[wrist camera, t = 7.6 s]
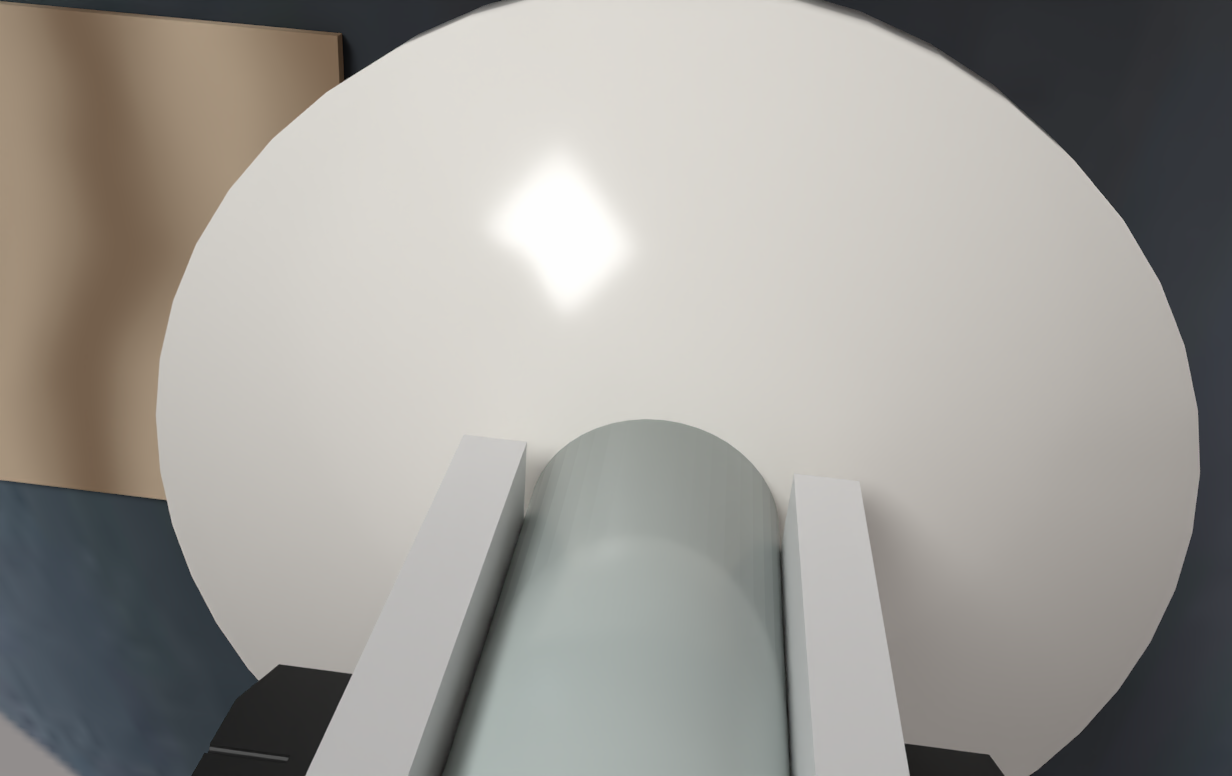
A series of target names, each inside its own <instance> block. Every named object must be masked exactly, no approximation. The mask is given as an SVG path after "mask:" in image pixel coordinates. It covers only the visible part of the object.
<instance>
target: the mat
mask: <svg viewBox="0 0 1232 776" xmlns="http://www.w3.org/2000/svg"><path fill="white" fill-rule="evenodd" d="M343 81H344V65H343V43H342V33H332V32H321V31H311V30H300V29H290V28H279V27H269V26H258V25H247V24H237V23H226V22H216V21H205V20H195V19H184V18H173V17H163V16H152V15H142V14H131V13H121V12H110V11H99V10H89V9H78V8H68V7H57V6H47V5H36V4H25V3H15V2H4V1H0V480H6V481H14V482H22V483H30V484H38V485H47V486H55V487H63V488H71V489H80V490H88V491H96V492H104V493H112V494H121V495H129V496H137V497H145V498H154V499H162V500H167V499H166V494H165V490H164V486H163V481H162V477H161V472H160V462H159V450H158V437H157V425H156V405H157V391H158V377H159V363H160V355H161V351H162V347H163V342H164V338H165V334H166V329H167V325H168V321H169V316H170V312H171V308H172V303H173V300H174V297H175V295H176V292H177V290H178V287H179V285H180V283H181V280H182V278H183V275H184V273H185V270H186V268H187V265H188V263H189V260H190V258H191V255H192V253H193V250H194V248H195V246H196V243H197V242H198V240H199V239H200V237H201V235H202V234H203V232H204V230H205V229H206V227H207V225H208V224H209V222H210V220H211V219H212V217H213V215H214V214H215V212H216V211H217V209H218V207H219V206H220V204H221V202H222V201H223V199H224V197H225V196H226V194H227V192H228V191H229V189H230V188H231V187H232V186H233V185H234V183H235V182H236V181H237V180H238V179H239V177H240V176H241V175H242V174H243V173H244V172H245V170H246V169H247V168H248V167H249V166H250V165H251V163H252V162H253V161H254V160H255V159H256V157H257V156H258V155H259V154H260V153H261V152H262V150H263V149H264V148H265V147H266V146H267V145H268V143H269V142H270V141H271V140H272V139H273V138H274V137H275V136H276V135H277V134H278V133H280V132H281V131H282V130H283V129H284V128H285V127H287V126H288V125H289V124H290V123H291V122H292V121H294V120H295V119H296V118H297V117H298V116H299V115H301V114H302V113H303V112H304V111H305V110H306V109H308V108H309V107H310V106H311V105H312V104H313V103H315V102H316V101H317V100H318V99H319V98H320V97H322V96H323V95H324V94H325V93H326V92H328V91H329V90H331V89H332V88H334V87H336V86H337V85H339V84H340V83H342V82H343Z"/></svg>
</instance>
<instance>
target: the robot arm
mask: <svg viewBox="0 0 1232 776" xmlns="http://www.w3.org/2000/svg"><path fill="white" fill-rule="evenodd" d="M526 448H527V442H522V441H513V440H505V439H496V438H488V437H479V436H471V435H463V437H462V439H461V441H460V444H459V446H458V448H457V450H456V452H455V454H454V457H453V459H452V461H451V463H450V465H449V467H448V469H447V472H446V474H445V476H444V478H443V480H442V482H441V485H440V487H439V489H438V491H437V493H436V495H435V497H434V500H433V502H432V504H431V506H430V508H429V510H428V513H427V515H426V517H425V519H424V521H423V523H422V525H421V528H420V530H419V532H418V534H417V536H416V538H415V541H414V543H413V545H412V547H411V549H410V551H409V553H408V556H407V558H406V560H405V562H404V564H403V566H402V569H401V571H400V573H399V575H398V577H397V579H396V582H395V584H394V586H393V588H392V590H391V592H390V594H389V597H388V599H387V601H386V603H385V605H384V607H383V610H382V612H381V614H380V616H379V618H378V620H377V622H376V625H375V627H374V629H373V631H372V633H371V635H370V638H369V640H368V642H367V644H366V646H365V648H364V650H363V653H362V655H361V657H360V659H359V661H358V663H357V666H356V668H355V670H354V672H353V674H349V673H342V672H334V671H327V670H319V669H312V668H304V667H296V666H289V665H281V664H279V665H277V666H276V667H275V668H274V669H273V670H271V671H270V672H269V673H268V674H266V675H265V676H264V677H263V678H262V679H260V680H259V681H258V682H257V683H256V684H254V685H253V686H252V687H251V688H249V689H248V690H247V691H246V692H245V693H243V694H242V695H241V696H240V697H238V698H237V699H236V700H235V702H234V704H233V705H232V707H231V709H230V711H229V712H228V714H227V716H226V717H225V719H224V721H223V723H222V724H221V726H220V728H219V729H218V731H217V733H216V735H215V736H214V738H213V740H212V741H211V743H210V748H209V752H208V753H204V755H203V757H202V759H201V760H200V762H199V764H198V765H197V767H196V769H195V771H194V772H193V774H192V776H442V773H443V770H444V767H445V764H446V761H447V757H448V754H449V751H450V748H451V745H452V742H453V739H454V736H455V732H456V729H457V726H458V723H459V720H460V717H461V714H462V711H463V707H464V704H465V701H466V698H467V695H468V692H469V689H470V686H471V682H472V679H473V676H474V673H475V670H476V667H477V664H478V661H479V658H480V654H481V651H482V648H483V645H484V642H485V639H486V636H487V633H488V629H489V626H490V623H491V620H492V617H493V614H494V611H495V608H496V604H497V601H498V598H499V595H500V592H501V589H502V586H503V583H504V579H505V576H506V573H507V570H508V567H509V564H510V561H511V558H512V554H513V551H514V548H515V545H516V542H517V539H518V536H519V533H520V530H521V526H522V523H523V520H524V500H525V474H526ZM780 559H781V581H782V603H783V625H784V647H785V669H786V691H787V713H788V735H789V757H790V776H1005V775H1004V774H1003V773H1002V771H1001V770H1000V769H999V767H998V766H997V765H996V763H995V762H994V761H993V759H992V758H991V757H990V755H989V754H981V753H974V752H966V751H958V750H951V749H943V748H936V747H928V746H921V745H913V744H905V743H904V739H903V733H902V727H901V721H900V716H899V710H898V704H897V698H896V692H895V686H894V681H893V675H892V669H891V663H890V657H889V651H888V645H887V640H886V634H885V628H884V622H883V616H882V610H881V604H880V599H879V593H878V587H877V581H876V575H875V569H874V564H873V558H872V552H871V546H870V540H869V534H868V528H867V523H866V517H865V511H864V505H863V499H862V493H861V488H860V482H859V481H854V480H846V479H837V478H829V477H820V476H812V475H803V474H795V473H794V476H793V481H792V487H791V493H790V499H789V504H788V510H787V516H786V521H785V527H784V533H783V538H782V544H781V550H780Z"/></svg>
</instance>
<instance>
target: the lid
mask: <svg viewBox="0 0 1232 776" xmlns="http://www.w3.org/2000/svg"><path fill="white" fill-rule="evenodd" d="M156 425H157V437H158V450H159V462H160V472H161V477H162V481H163V486H164V490H165V494H166V499H167V503H168V508H169V512H170V516H171V521H172V525H173V528H174V531H175V533H176V536H177V538H178V541H179V544H180V546H181V549H182V552H183V554H184V557H185V560H186V562H187V565H188V568H189V570H190V573H191V576H192V578H193V580H194V581H195V583H196V585H197V587H198V589H199V591H200V593H201V595H202V597H203V598H204V600H205V602H206V604H207V606H208V608H209V610H210V612H211V614H212V615H213V617H214V619H215V621H216V623H217V625H218V626H219V628H220V629H221V630H222V632H223V633H224V635H225V636H226V638H227V639H228V640H229V642H230V643H231V645H232V646H233V648H234V649H235V651H236V652H237V653H238V655H239V656H240V658H241V659H242V661H243V662H244V663H245V665H246V666H247V668H248V669H249V670H250V671H251V672H252V674H253V675H254V676H255V677H256V678H257V679H258V680H260V679H262V678H263V677H264V676H265V675H266V674H268V673H269V672H270V671H271V670H273V669H274V668H275V667H276V666H277V665H279V664H281V665H289V666H296V667H304V668H312V669H319V670H327V671H334V672H342V673H349V674H353V672H354V670H355V668H356V666H357V663H358V661H359V659H360V657H361V655H362V653H363V650H364V648H365V646H366V644H367V642H368V640H369V638H370V635H371V633H372V631H373V629H374V627H375V625H376V622H377V620H378V618H379V616H380V614H381V612H382V610H383V607H384V605H385V603H386V601H387V599H388V597H389V594H390V592H391V590H392V588H393V586H394V584H395V582H396V579H397V577H398V575H399V573H400V571H401V569H402V566H403V564H404V562H405V560H406V558H407V556H408V553H409V551H410V549H411V547H412V545H413V543H414V541H415V538H416V536H417V534H418V532H419V530H420V528H421V525H422V523H423V521H424V519H425V517H426V515H427V513H428V510H429V508H430V506H431V504H432V502H433V500H434V497H435V495H436V493H437V491H438V489H439V487H440V485H441V482H442V480H443V478H444V476H445V474H446V472H447V469H448V467H449V465H450V463H451V461H452V459H453V457H454V454H455V452H456V450H457V448H458V446H459V444H460V441H461V439H462V437H463V435H471V436H479V437H488V438H496V439H505V440H513V441H522V442H527V448H526V474H525V500H524V520H523V523H522V526H521V530H520V533H519V536H518V539H517V542H516V545H515V548H514V551H513V554H512V558H511V561H510V564H509V567H508V570H507V573H506V576H505V579H504V583H503V586H502V589H501V592H500V595H499V598H498V601H497V604H496V608H495V611H494V614H493V617H492V620H491V623H490V626H489V629H488V633H487V636H486V639H485V642H484V645H483V648H482V651H481V654H480V658H479V661H478V664H477V667H476V670H475V673H474V676H473V679H472V682H471V686H470V689H469V692H468V695H467V698H466V701H465V704H464V707H463V711H462V714H461V717H460V720H459V723H458V726H457V729H456V732H455V736H454V739H453V742H452V745H451V748H450V751H449V754H448V757H447V761H446V764H445V767H444V770H443V773H442V776H790V757H789V735H788V713H787V691H786V669H785V647H784V625H783V603H782V581H781V559H780V550H781V544H782V538H783V533H784V527H785V521H786V516H787V510H788V504H789V499H790V493H791V487H792V481H793V476H794V473H795V474H803V475H812V476H820V477H829V478H837V479H846V480H854V481H859V482H860V488H861V493H862V499H863V505H864V511H865V517H866V523H867V528H868V534H869V540H870V546H871V552H872V558H873V564H874V569H875V575H876V581H877V587H878V593H879V599H880V604H881V610H882V616H883V622H884V628H885V634H886V640H887V645H888V651H889V657H890V663H891V669H892V675H893V681H894V686H895V692H896V698H897V704H898V710H899V716H900V721H901V727H902V733H903V739H904V743H905V744H913V745H921V746H928V747H936V748H943V749H951V750H958V751H966V752H974V753H981V754H989V755H990V757H991V758H992V759H993V761H994V762H995V763H996V765H997V766H998V767H999V769H1000V770H1001V771H1002V773H1003V774H1004V775H1005V776H1029V775H1031V774H1032V773H1034V772H1035V771H1037V770H1038V769H1039V768H1040V767H1041V766H1043V765H1044V764H1045V763H1046V762H1047V761H1048V760H1050V759H1051V758H1052V757H1053V756H1054V755H1055V754H1056V753H1058V752H1059V751H1060V750H1061V749H1062V748H1063V747H1064V746H1066V745H1067V744H1068V743H1069V742H1070V741H1071V740H1073V739H1074V738H1075V737H1076V736H1077V735H1078V734H1079V733H1081V731H1082V730H1083V729H1084V728H1085V727H1086V726H1087V725H1088V724H1089V722H1090V721H1091V720H1092V719H1093V718H1094V717H1095V716H1096V715H1097V713H1098V712H1099V711H1100V710H1101V709H1102V708H1103V707H1104V706H1105V704H1106V703H1107V702H1108V701H1109V700H1110V699H1111V698H1112V697H1113V695H1114V694H1115V693H1116V692H1117V691H1118V690H1119V688H1120V687H1121V685H1122V684H1123V682H1124V681H1125V679H1126V678H1127V676H1128V675H1129V673H1130V672H1131V670H1132V669H1133V667H1134V666H1135V664H1136V663H1137V661H1138V660H1139V658H1140V657H1141V655H1142V654H1143V652H1144V651H1145V649H1146V648H1147V646H1148V645H1149V643H1150V642H1151V640H1152V638H1153V635H1154V633H1155V631H1156V629H1157V627H1158V625H1159V623H1160V621H1161V619H1162V617H1163V614H1164V612H1165V610H1166V608H1167V606H1168V604H1169V602H1170V600H1171V598H1172V596H1173V593H1174V591H1175V589H1176V585H1177V582H1178V579H1179V575H1180V572H1181V569H1182V565H1183V562H1184V559H1185V555H1186V552H1187V549H1188V545H1189V542H1190V539H1191V535H1192V530H1193V522H1194V515H1195V507H1196V500H1197V492H1198V484H1199V477H1200V459H1199V430H1198V409H1197V404H1196V399H1195V394H1194V389H1193V384H1192V379H1191V374H1190V370H1189V365H1188V360H1187V355H1186V350H1185V346H1184V343H1183V340H1182V338H1181V335H1180V333H1179V330H1178V327H1177V325H1176V322H1175V320H1174V317H1173V315H1172V312H1171V309H1170V307H1169V304H1168V302H1167V299H1166V296H1165V294H1164V291H1163V289H1162V286H1161V283H1160V281H1159V280H1158V278H1157V276H1156V275H1155V273H1154V271H1153V269H1152V268H1151V266H1150V264H1149V263H1148V261H1147V259H1146V258H1145V256H1144V254H1143V252H1142V251H1141V249H1140V247H1139V246H1138V244H1137V242H1136V240H1135V239H1134V237H1133V235H1132V234H1131V232H1130V230H1129V229H1128V227H1127V225H1126V223H1125V222H1124V220H1123V219H1122V218H1121V217H1120V215H1119V214H1118V213H1117V212H1116V211H1115V209H1114V208H1113V207H1112V206H1111V204H1110V203H1109V202H1108V201H1107V200H1106V198H1105V197H1104V196H1103V195H1102V194H1101V192H1100V191H1099V190H1098V189H1097V188H1096V186H1095V185H1094V184H1093V183H1092V181H1091V180H1090V179H1089V178H1088V177H1087V175H1086V174H1085V173H1084V172H1083V171H1082V169H1081V168H1080V167H1079V166H1078V164H1077V163H1076V162H1075V161H1074V160H1073V159H1072V158H1071V157H1070V156H1069V155H1068V154H1067V153H1066V152H1065V151H1064V150H1063V149H1062V148H1061V147H1060V146H1059V145H1058V144H1057V143H1056V141H1055V140H1054V139H1053V138H1052V137H1051V136H1050V135H1049V134H1048V133H1047V132H1046V131H1044V130H1043V129H1042V128H1041V127H1040V126H1039V125H1038V124H1037V123H1035V122H1034V121H1033V120H1032V119H1031V118H1030V117H1029V116H1028V115H1026V114H1025V113H1024V112H1023V111H1022V110H1021V109H1020V108H1019V107H1017V106H1016V105H1015V104H1014V103H1013V102H1012V101H1011V100H1010V99H1009V98H1007V97H1006V96H1005V95H1004V94H1003V93H1002V92H1001V91H1000V90H998V89H997V88H996V87H995V86H994V85H993V84H991V83H990V82H988V81H986V80H985V79H983V78H982V77H980V76H979V75H977V74H976V73H974V72H973V71H971V70H970V69H968V68H967V67H965V66H964V65H962V64H960V63H959V62H957V61H956V60H954V59H953V58H951V57H950V56H948V55H947V54H945V53H944V52H942V51H941V50H939V49H938V48H936V47H934V46H933V45H931V44H930V43H927V42H925V41H923V40H921V39H919V38H917V37H914V36H912V35H910V34H908V33H906V32H904V31H902V30H899V29H897V28H895V27H893V26H891V25H889V24H886V23H884V22H882V21H880V20H878V19H876V18H874V17H871V16H869V15H867V14H865V13H863V12H860V11H857V10H854V9H850V8H847V7H844V6H840V5H837V4H834V3H831V2H827V1H824V0H502V1H499V2H495V3H491V4H488V5H484V6H482V7H480V8H478V9H475V10H473V11H471V12H468V13H466V14H464V15H461V16H459V17H457V18H455V19H452V20H450V21H448V22H445V23H443V24H441V25H439V26H436V27H434V28H432V29H429V30H427V31H425V32H422V33H420V34H418V35H417V36H415V37H413V38H412V39H410V40H409V41H407V42H405V43H404V44H402V45H401V46H399V47H397V48H396V49H394V50H393V51H391V52H389V53H388V54H386V55H385V56H383V57H381V58H380V59H378V60H377V61H375V62H373V63H372V64H370V65H369V66H367V67H365V68H364V69H362V70H361V71H359V72H357V73H356V74H354V75H353V76H351V77H350V78H348V79H347V80H345V81H343V82H342V83H340V84H339V85H337V86H336V87H334V88H332V89H331V90H329V91H328V92H326V93H325V94H324V95H323V96H322V97H320V98H319V99H318V100H317V101H316V102H315V103H313V104H312V105H311V106H310V107H309V108H308V109H306V110H305V111H304V112H303V113H302V114H301V115H299V116H298V117H297V118H296V119H295V120H294V121H292V122H291V123H290V124H289V125H288V126H287V127H285V128H284V129H283V130H282V131H281V132H280V133H278V134H277V135H276V136H275V137H274V138H273V139H272V140H271V141H270V142H269V143H268V145H267V146H266V147H265V148H264V149H263V150H262V152H261V153H260V154H259V155H258V156H257V157H256V159H255V160H254V161H253V162H252V163H251V165H250V166H249V167H248V168H247V169H246V170H245V172H244V173H243V174H242V175H241V176H240V177H239V179H238V180H237V181H236V182H235V183H234V185H233V186H232V187H231V188H230V189H229V191H228V192H227V194H226V196H225V197H224V199H223V201H222V202H221V204H220V206H219V207H218V209H217V211H216V212H215V214H214V215H213V217H212V219H211V220H210V222H209V224H208V225H207V227H206V229H205V230H204V232H203V234H202V235H201V237H200V239H199V240H198V242H197V243H196V246H195V248H194V250H193V253H192V255H191V258H190V260H189V263H188V265H187V268H186V270H185V273H184V275H183V278H182V280H181V283H180V285H179V287H178V290H177V292H176V295H175V297H174V300H173V303H172V308H171V312H170V316H169V321H168V325H167V329H166V334H165V338H164V342H163V347H162V351H161V355H160V363H159V377H158V391H157V405H156Z"/></svg>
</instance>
